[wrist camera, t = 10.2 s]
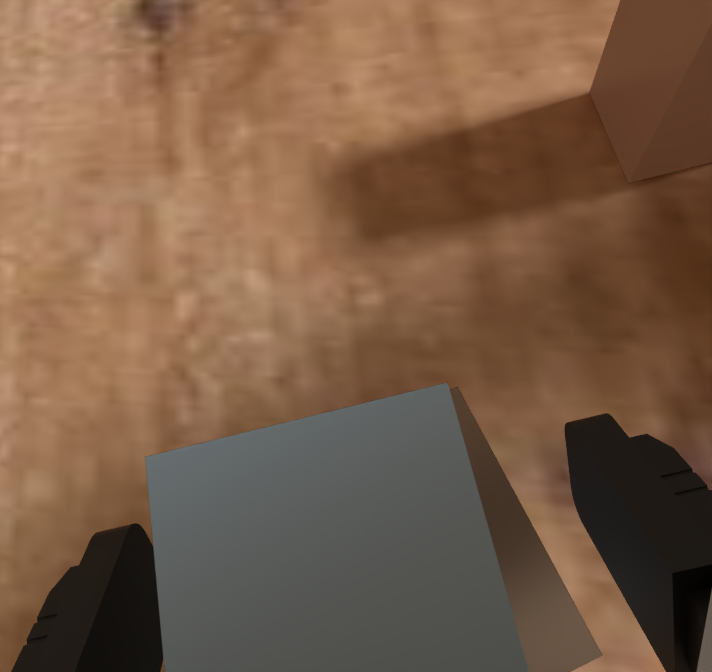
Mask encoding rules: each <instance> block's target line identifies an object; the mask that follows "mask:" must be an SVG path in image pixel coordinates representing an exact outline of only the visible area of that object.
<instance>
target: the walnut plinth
mask: <svg viewBox="0 0 712 672" xmlns="http://www.w3.org/2000/svg"><path fill="white" fill-rule="evenodd" d="M450 393H451V396H452V400H453V403H454V407H455V411H456V414H457V418H458V421H459V425H460V428H461V432H462V435H463V439H464V443H465V446H466V450H467V453H468V457H469V460H470V464H471V467H472V471H473V475H474V478H475V482H476V485H477V489H478V492H479V496H480V499H481V503H482V506H483V510H484V514H485V517H486V521H487V524H488V528H489V531H490V535H491V538H492V542H493V546H494V549H495V553H496V556H497V560H498V563H499V567H500V570H501V574H502V577H503V581H504V585H505V588H506V592H507V595H508V599H509V602H510V606H511V609H512V613H513V617H514V620H515V624H516V627H517V631H518V634H519V638H520V641H521V645H522V649H523V652H524V656H525V659H526V663H527V666H528V670H529V672H571V671H573V670H575V669H577V668H579V667H581V666H583V665H585V664H587V663H588V662H590V661H592V660H594V659H596V658H598V657H600V656H602V653H601V651H600V649H599V648H598V646H597V644H596V642H595V640H594V638H593V637H592V635H591V633H590V631H589V629H588V627H587V625H586V624H585V622H584V620H583V618H582V616H581V614H580V612H579V611H578V609H577V607H576V605H575V603H574V601H573V600H572V598H571V596H570V594H569V592H568V590H567V588H566V587H565V585H564V583H563V581H562V579H561V577H560V576H559V574H558V572H557V570H556V568H555V566H554V564H553V563H552V561H551V559H550V557H549V555H548V553H547V551H546V550H545V548H544V546H543V544H542V542H541V540H540V539H539V537H538V535H537V533H536V531H535V529H534V527H533V526H532V524H531V522H530V520H529V518H528V516H527V514H526V513H525V511H524V509H523V507H522V505H521V503H520V502H519V500H518V498H517V496H516V494H515V492H514V490H513V489H512V487H511V485H510V483H509V481H508V479H507V477H506V476H505V474H504V472H503V470H502V468H501V466H500V465H499V463H498V461H497V459H496V457H495V455H494V453H493V452H492V450H491V448H490V446H489V444H488V442H487V440H486V439H485V437H484V435H483V433H482V431H481V429H480V428H479V426H478V424H477V422H476V420H475V418H474V416H473V415H472V413H471V411H470V409H469V407H468V405H467V404H466V402H465V400H464V398H463V396H462V394H461V392H460V391H459V389H458V387H456V388H454V389H452V390H450Z"/></svg>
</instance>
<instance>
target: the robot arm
mask: <svg viewBox="0 0 712 672" xmlns="http://www.w3.org/2000/svg"><path fill="white" fill-rule="evenodd" d="M565 439H566V447H567V456H568V465H569V473H570V482H571V490H572V495H573V499H574V503H575V506H576V509H577V512H578V514H579V517H580V519H581V521H582V523H583V525H584V527H585V529H586V530H587V532H588V534H589V536H590V537H591V539H592V541H593V543H594V545H595V546H596V548H597V550H598V552H599V553H600V555H601V557H602V559H603V561H604V562H605V564H606V566H607V568H608V569H609V571H610V573H611V575H612V576H613V578H614V580H615V582H616V584H617V585H618V587H619V589H620V591H621V592H622V594H623V596H624V598H625V600H626V601H627V603H628V605H629V607H630V608H631V610H632V612H633V614H634V616H635V617H636V619H637V621H638V623H639V624H640V626H641V628H642V630H643V631H644V633H645V635H646V637H647V639H648V640H649V642H650V644H651V646H652V647H653V649H654V651H655V653H656V655H657V656H658V658H659V660H660V662H661V663H662V665H663V667H664V669H665V670H666V672H712V490H708V488H707V485H706V484H705V483H704V482H703V480H702V479H701V478H700V477H699V476H698V475H697V474H696V473H693V471H692V468H691V467H690V466H689V465H688V464H687V463H686V461H685V460H684V459H683V458H682V457H681V456H680V455H679V454H678V452H677V451H676V450H675V449H674V448H672V447H670V446H668V445H667V444H665V443H663V442H661V441H659V440H657V439H655V438H654V437H652V436H650V435H648V434H644V435H639V436H635V437H631V438H629V437H628V436H627V435H626V433H625V432H624V431H623V430H622V428H621V427H620V426H619V425H618V423H617V422H616V421H615V420H614V418H613V417H612V416H611V415H610V414H607V413H606V414H601V415H597V416H593V417H589V418H585V419H580V420H576V421H572V422H568V423H566V424H565ZM37 620H38V621H37V623H35V624H34V625H33V628H32V630H31V632H30V634H29V636H28V638H27V645H25V646H23V648H22V651H21V653H20V655H19V657H18V659H17V661H16V663H15V665H14V667H13V669H12V671H11V672H160V670H161V666H162V661H163V648H162V637H161V626H160V615H159V604H158V593H157V582H156V571H155V559H154V548H153V546H152V544H151V542H150V540H149V538H148V536H147V534H146V532H145V531H144V529H143V528H142V526H140V525H139V524H136V523H135V524H131V525H126V526H122V527H118V528H114V529H109V530H105V531H101V532H97V533H95V534H94V535H93V536H92V538H91V540H90V542H89V544H88V547H87V549H86V551H85V553H84V556H83V558H82V560H81V562H80V565H78V566H74V567H71V568H70V569H69V570H68V571H67V572H66V574H65V575H64V576H63V577H62V578H61V579H60V581H59V582H58V583H57V584H56V585H55V586H54V588H53V589H52V590H51V591H50V592H49V594H48V596H47V598H46V600H45V603H44V605H43V607H42V609H41V611H40V613H39V615H38V617H37Z"/></svg>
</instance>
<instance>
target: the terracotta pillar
mask: <svg viewBox="0 0 712 672" xmlns="http://www.w3.org/2000/svg"><path fill="white" fill-rule="evenodd" d="M589 93H590V95H591V98H592V100H593V102H594V105H595V107H596V109H597V112H598V114H599V116H600V119H601V121H602V123H603V126H604V128H605V130H606V133H607V135H608V137H609V140H610V142H611V144H612V147H613V149H614V151H615V154H616V156H617V158H618V161H619V163H620V165H621V168H622V170H623V172H624V175H625V177H626V180H627V182H628V183H631V182H635V181H639V180H643V179H647V178H651V177H655V176H659V175H663V174H667V173H671V172H675V171H679V170H683V169H687V168H691V167H695V166H699V165H703V164H707V163H711V162H712V0H620V3H619V6H618V9H617V12H616V15H615V18H614V21H613V24H612V27H611V30H610V33H609V36H608V39H607V42H606V45H605V48H604V51H603V53H602V56H601V59H600V62H599V65H598V68H597V71H596V74H595V77H594V80H593V83H592V86H591V89H590V92H589Z"/></svg>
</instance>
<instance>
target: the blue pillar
mask: <svg viewBox="0 0 712 672" xmlns="http://www.w3.org/2000/svg"><path fill="white" fill-rule="evenodd" d="M145 460H146V471H147V482H148V493H149V504H150V515H151V526H152V537H153V548H154V559H155V571H156V582H157V593H158V604H159V615H160V626H161V637H162V648H163V659H164V670H165V672H529V670H528V666H527V663H526V659H525V656H524V652H523V649H522V645H521V641H520V638H519V634H518V631H517V627H516V624H515V620H514V617H513V613H512V609H511V606H510V602H509V599H508V595H507V592H506V588H505V585H504V581H503V577H502V574H501V570H500V567H499V563H498V560H497V556H496V553H495V549H494V546H493V542H492V538H491V535H490V531H489V528H488V524H487V521H486V517H485V514H484V510H483V506H482V503H481V499H480V496H479V492H478V489H477V485H476V482H475V478H474V475H473V471H472V467H471V464H470V460H469V457H468V453H467V450H466V446H465V443H464V439H463V435H462V432H461V428H460V425H459V421H458V418H457V414H456V411H455V407H454V403H453V400H452V396H451V393H450V389H449V386H448V382H447V383H443V384H439V385H435V386H431V387H427V388H423V389H419V390H415V391H411V392H407V393H403V394H399V395H395V396H391V397H387V398H382V399H378V400H374V401H370V402H366V403H362V404H358V405H354V406H350V407H346V408H342V409H338V410H334V411H330V412H326V413H322V414H317V415H313V416H309V417H305V418H301V419H297V420H293V421H289V422H285V423H281V424H277V425H273V426H269V427H265V428H261V429H257V430H253V431H248V432H244V433H240V434H236V435H232V436H228V437H224V438H220V439H216V440H212V441H208V442H204V443H200V444H196V445H192V446H188V447H183V448H179V449H175V450H171V451H167V452H163V453H159V454H155V455H151V456H147V457H145Z"/></svg>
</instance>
